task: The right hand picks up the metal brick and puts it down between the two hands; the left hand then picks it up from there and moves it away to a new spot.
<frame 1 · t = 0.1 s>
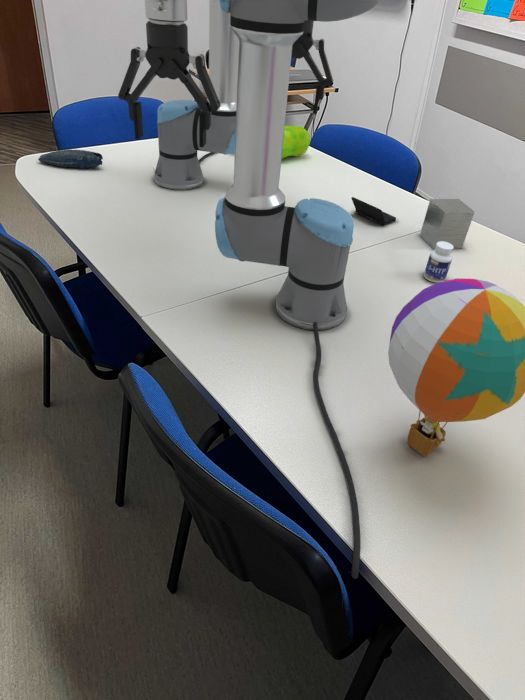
left hand: (170, 141, 108), 28 cm above the table, tool pointing down, fingers open, 13 cm apart
right hand: (288, 109, 135), 28 cm above the table, tool pointing down, fingers open, 13 cm apart
pill bottle: (434, 278, 128), on the table
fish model: (71, 165, 168), on the table
handheld gaming console: (371, 218, 153), on the table
toy: (421, 447, 84), on the table
decorative tree: (268, 156, 189), on the table
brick: (440, 241, 144), on the table
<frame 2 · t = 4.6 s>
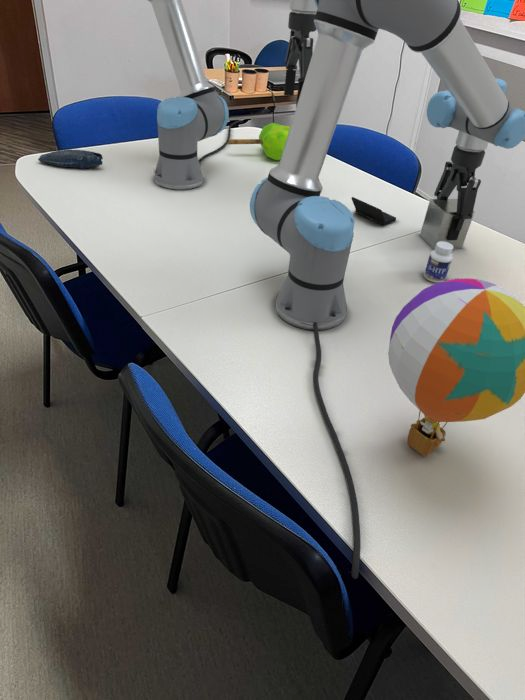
left hand: (294, 101, 146), 27 cm above the table, tool pointing down, fingers open, 13 cm apart
right hand: (443, 231, 142), 3 cm above the table, tool pointing down, fingers closed on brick, 8 cm apart
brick: (440, 241, 144), on the table, touching right hand
everything else where it was.
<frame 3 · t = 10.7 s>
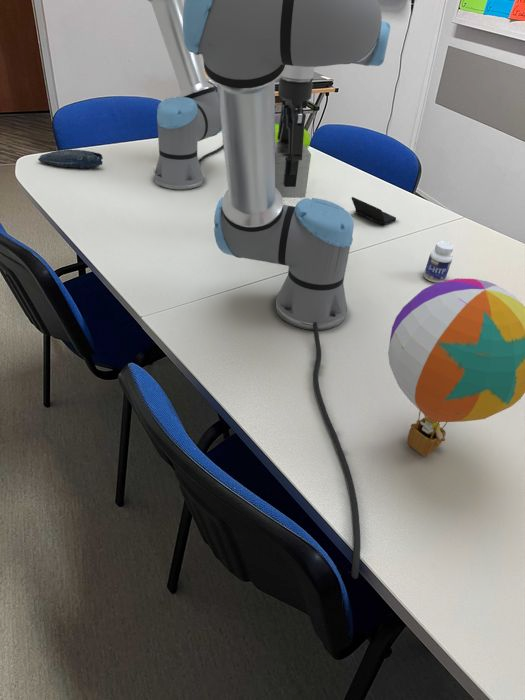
left hand: (294, 101, 146), 27 cm above the table, tool pointing down, fingers open, 13 cm apart
right hand: (285, 179, 129), 16 cm above the table, tool pointing down, fingers closed on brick, 8 cm apart
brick: (284, 191, 131), point 13 cm above the table, touching right hand
everything else where it was.
when the right hand's fingers open (4 cm above the table, at t = 16.8 s): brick stays where it is, on the table.
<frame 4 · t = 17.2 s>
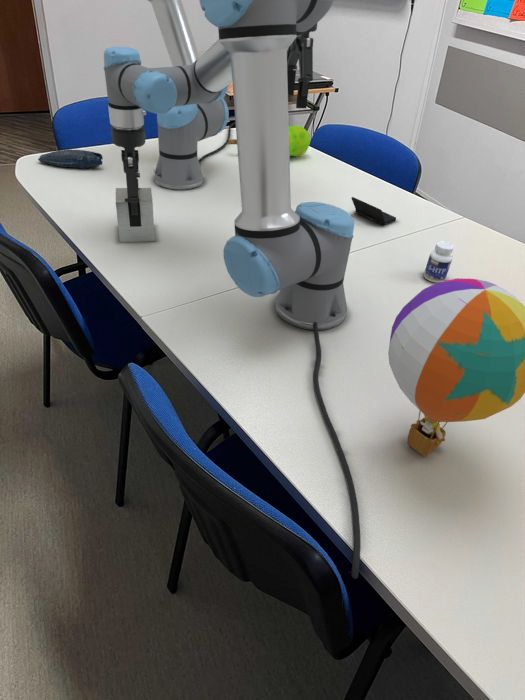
left hand: (294, 101, 146), 27 cm above the table, tool pointing down, fingers open, 13 cm apart
right hand: (135, 214, 131), 5 cm above the table, tool pointing down, fingers open, 13 cm apart
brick: (137, 234, 134), on the table
everything else where it was.
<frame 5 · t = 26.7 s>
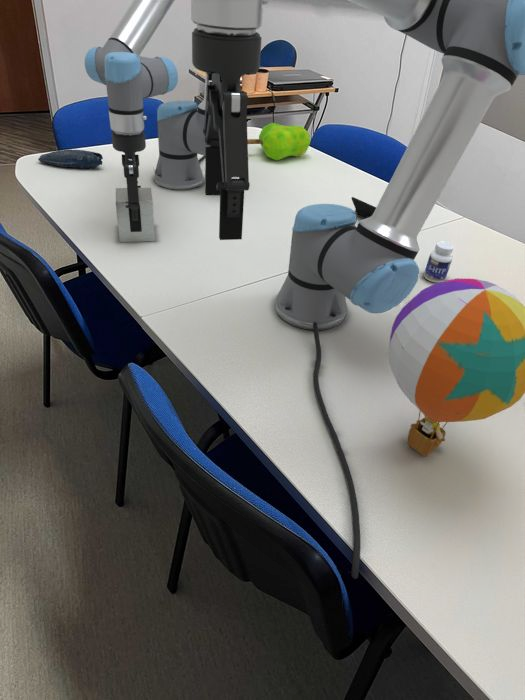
left hand: (135, 223, 132), 3 cm above the table, tool pointing down, fingers closed on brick, 8 cm apart
right hand: (222, 215, 69), 33 cm above the table, tool pointing down, fingers open, 13 cm apart
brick: (137, 234, 134), on the table, touching left hand
everything else where it was.
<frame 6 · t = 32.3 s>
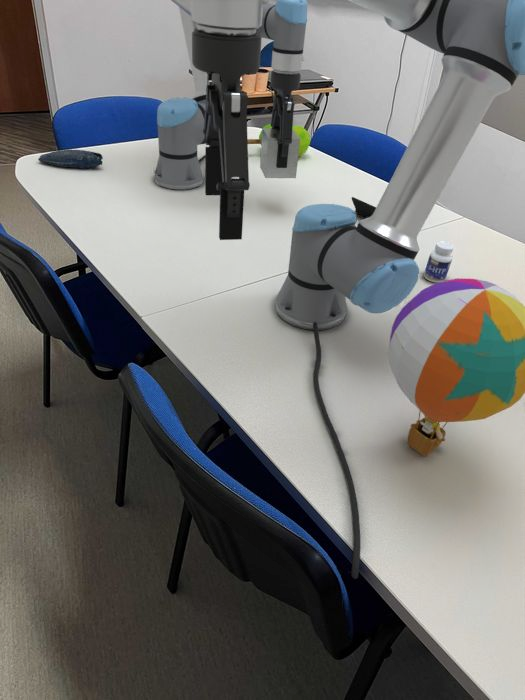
left hand: (278, 161, 144), 14 cm above the table, tool pointing down, fingers closed on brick, 8 cm apart
right hand: (222, 215, 69), 33 cm above the table, tool pointing down, fingers open, 13 cm apart
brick: (277, 172, 146), point 11 cm above the table, touching left hand
everything else where it was.
when the left hand's fingers open (4 cm above the table, at t = 37.9 s): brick stays where it is, on the table.
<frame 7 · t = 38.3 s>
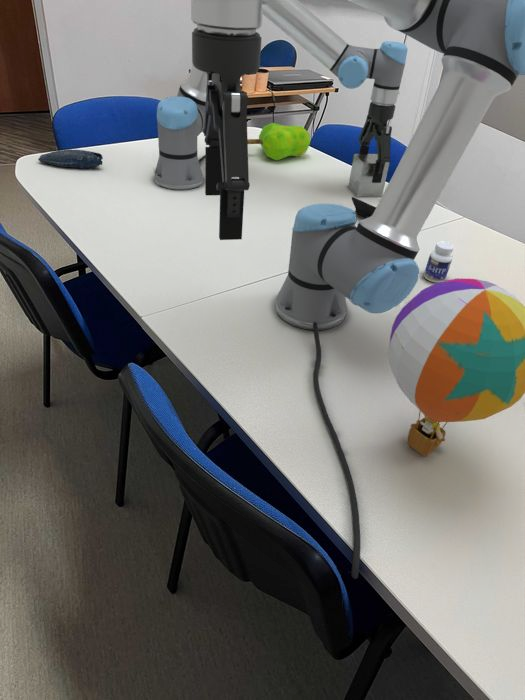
left hand: (368, 174, 166), 6 cm above the table, tool pointing down, fingers open, 13 cm apart
right hand: (222, 215, 69), 33 cm above the table, tool pointing down, fingers open, 13 cm apart
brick: (364, 191, 169), on the table
everything else where it was.
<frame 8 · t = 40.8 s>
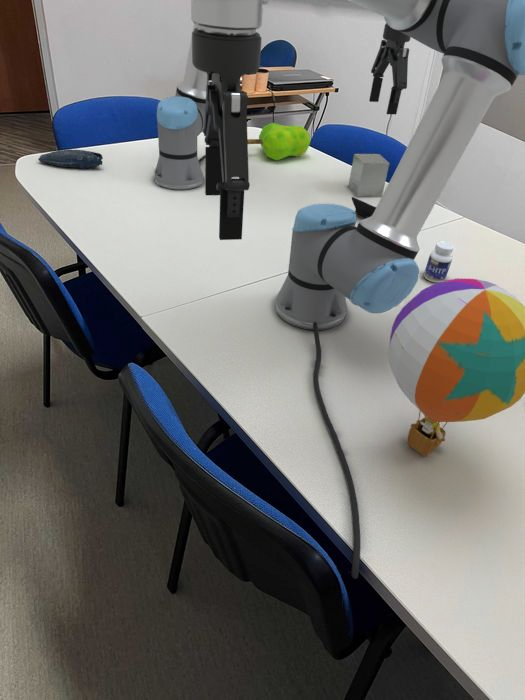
left hand: (382, 107, 153), 26 cm above the table, tool pointing down, fingers open, 13 cm apart
right hand: (222, 215, 69), 33 cm above the table, tool pointing down, fingers open, 13 cm apart
nothing on the table moved.
at the end: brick inside the target area (0.1 cm from its centre), on the table; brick tilted 0°; the two hands never held the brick at the same time; the left hand is holding nothing; the right hand is holding nothing; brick at rest at the end (0.0 cm/s) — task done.
